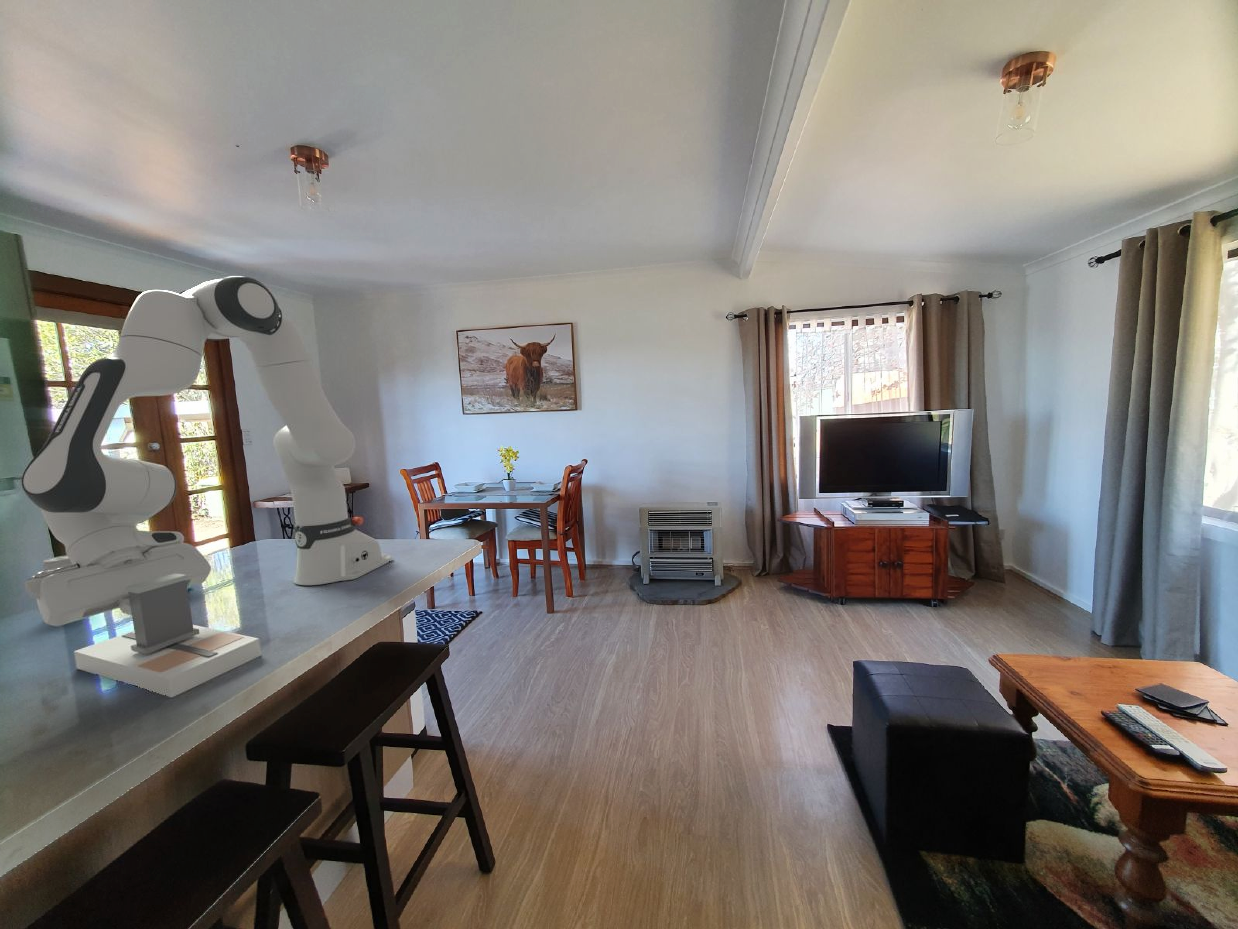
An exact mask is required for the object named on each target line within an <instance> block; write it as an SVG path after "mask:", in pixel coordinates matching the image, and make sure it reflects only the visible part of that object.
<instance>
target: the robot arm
mask: <svg viewBox="0 0 1238 929" xmlns="http://www.w3.org/2000/svg"><path fill="white" fill-rule="evenodd" d="M233 338H234V339H235V338H238V339H239V340H240V341H241V342H242V343H243V344H244V345H245V347H246V348H247V349H248V351H249V353H250V356H251V359H252V362H253V365H254V368H255V371H256V373H257V376H258V378H259V381H260V384H261V387H262V389H263V392H264V394H265V396H266V398H267V401H268V404H270V405H271V406H272V407H273V409H274V410H275V411H276V412H277V414H278V415H279V416H280V418H281V420H282V421H283V422H284V424H285V426H283V427H282V428H280V429H279V430H278V431H277V432H276V433H275V434H274V437H273V441H272V442H273V443H272V444H273V448H274V451H275V453H276V454H277V455H278V457H279V460H280V462H281V465H282V469H283V472H284V475H285V476H286V479H287V483H288V485H289V489H290V493H291V498H292V506H293V507H292V508H293V514H294V524H293V534H294V540H295V544H296V548H297V549H296V551H297V555H296V556H297V557H296V569H295V575H294V578H293V583H294V584H295V585H299V586H317V585H325V584H329V583H330V584H331V583H336V582H340V581H341V582H342V581H351V580H355V579H358V578H360V577H362V576H364V575H366V574H368V573H370V572H371V571H375V570H376V569H377V568H380V567H382V566H384V565H386V564H388V563H389V561H390V562H392V556H391V555H388V554H384V553H382V550H381V546H380V543H379V542H378V540H377V539H375V538H374V537H371V536H369V535H368V534H365V533H363V532H362V531H359V530H357V528H356V526H355V525H359V526H360V525H362V524H363V523H364V518H363V517H362V516H354V517H350V516H349V515H348V506H347V505H348V504H347V496H346V489H345V486H344V484H343V483H342V481H341V480H340V478H339V477H338V473H337V471H336V468H335V466H336V465H340V464H342V463H344V462H347V461H348V460H349V459H350V458H351V457H352V456H353V455H354V452H355V450H356V439H355V436H354V434H353V432H352V431H351V430H350V429H349V428H348V427H347V426H346V425H345V424H344V423H343V422H342V421H341V419H340V417H339V416H338V415H337V413H336V411H335V409H333V406H332V405H331V403H330V401H329V400H328V398H327V396H326V394H325V392H324V389H323V388H322V385H321V383H320V379H319V377H318V374H317V372H316V368H315V366H314V364H313V360H312V358H311V355H310V352H309V350H308V348H307V345H306V343H305V341H304V339H303V337H302V336H301V333H300V331H299V330H298V328H297V326H296V325H295V324H294V322H293V321H292V320H291V319H289V318H288V317H286V316H283V312H282V310H281V308H280V307H279V304H278V301H277V299H276V298H275V296H274V295H273V293H272V292H271V291H270V290H269V289H268V287H266V286H265V285H264V284H263V283H262V282H261V281H259V280H257V279H255V278H253V277H248V276H241V275H240V276H239V275H231V276H226V277H223V278H219V279H213V280H210V281H205V282H202V283H201V284H199V285H197V286H195V287H192V288H191V289H186V290H183V291H181V292H179V293H176V292H174V291H169V290H161V289H152V290H147V291H143V292H142V293H141V294H139V295H138V296H137V297H136V299H135V301H134V302H133V304H132V306H131V308H130V310H129V311H128V314H127V315H126V318H125V320H124V324H123V326H122V329H121V332H120V335H119V339H118V343H117V345H116V348H115V349H114V351H113V352H112V353H111V354H109V356H107V357H104V358H103V357H102V358H99V359H96V360H94V361H92V363H90V364H89V365H88V366H87V367H86V369H85V370H84V371H83V372H82V374H81V376H80V377H79V379H78V381H77V382H76V384H75V386H74V388H73V389H72V391H71V393H70V394H69V396H68V399H67V401H66V403H65V405H64V407H63V408H62V410H61V413H59V414H60V415H59V416H58V418H57V419H56V422H55V424H54V425H53V428H52V430H51V431H50V434H49V435H48V438H47V439H46V441H45V443H44V444H43V445H42V447H41V449H40V450H39V451H38V452H37V454H36V455H35V456H34V457H33V459H32V460H31V461H30V462H29V463H28V465H27V466H26V468H25V469H24V472H23V473H22V477H21V487H22V490H23V492H24V493H25V495H26V496H27V497H28V498H29V499H30V501H31V502H33V504H35V505H36V506H37V507H38V508H39V509H40V511H41V514H42V517H43V519H44V521H45V524H46V526H47V527H48V530H50V532H51V534H52V535H53V536H54V538H55V539H56V540H57V541H59V542H60V543H61V544H63V545H64V548H65V554H66V555H67V556H68V558H69V559H70V561H71V562H72V564H73V565H70V566H65V567H61V568H58V569H55V570H50V571H44V570H43V571H39V572H36V573H35V574H34V575H32V576H31V577H28V578H27V580H25V581H24V583H23V588H24V589H25V591H26V593H27V594H28V595H29V596H30V597H31V598H34V599H36V603H37V607H38V609H39V613H40V616H41V617H42V620H43V621H44V623H45V624H46V625H50V626H53V627H60V626H64V625H67V624H70V623H73V622H77V621H80V620H84V619H86V618H90V617H93V616H97V615H100V614H103V613H107V612H111V611H113V610H116V609H117V610H118V609H119V610H120V611H121V613H123V614H126V615H128V616H131V617H132V613H131V607H130V601H129V595H128V592H127V590H126V586H130V585H134V584H137V583H141V582H145V581H148V580H152V579H156V578H159V577H163V576H167V575H170V574H174V573H177V574H183V575H186V576H187V580H186V583H187V587H189V588H190V587H193V586H197V585H200V584H202V583H204V582H206V581H207V579H208V577H209V575H210V573H211V571H212V566H211V564H210V562H209V561H208V560H207V559H206V557H205V556H204V555H203V554H202V552H201V551H199V550H198V549H197V548H196V547H195V546H194V545H192V544H190V543H187V542H184V541H185V536H184V535H183V533H182V532H180V531H154V530H153V531H150V530H139V529H138V528H137V526H138V524H141V523H142V524H143V523H144V522H147V521H148V520H149V519H151V518H153V517H154V516H156V515H157V514H159V513H161V512H162V511H163V510H164V509H165V508H167V507H168V506H169V505H171V503H172V502H173V501H174V499H175V497H176V495H177V491H178V484H177V479H176V476H175V475H174V473H173V471H172V470H171V469H169V468H168V467H167V466H165V465H163V464H158V463H154V462H150V461H144V460H138V459H134V458H125V457H121V456H120V457H119V456H114V455H108V454H104V453H103V451H102V449H101V448H102V447H101V446H102V444H103V441H104V440H105V438H106V434H107V433H108V430H109V428H110V426H111V424H112V423H113V422H112V421H113V420H114V418H115V415H116V413H117V411H118V409H119V407H121V405H122V404H124V403H125V402H126V401H128V400H129V399H132V398H137V397H160V396H161V397H162V396H170V395H174V394H175V395H176V394H179V393H182V392H184V391H185V390H187V389H189V388H190V387H191V386H193V385H194V384H195V382H196V381H197V379H198V376H199V374H200V369H201V367H202V366H201V365H202V359H203V355H204V353H203V352H204V347H205V343H206V341H208V342H215V341H221V340H225V339H226V340H227V339H233Z"/></svg>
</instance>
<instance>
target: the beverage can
mask: <svg viewBox="0 0 1238 929" xmlns="http://www.w3.org/2000/svg"><path fill="white" fill-rule="evenodd" d="M70 565H73V564H72V562H71V561H70V559H69V558H68V556H67V554H66V555H60V556H56V557H50V558H47V559H44V560H43V564H42V567H43V571H50V570H55V569H58V568H61V567H65V566H70Z"/></svg>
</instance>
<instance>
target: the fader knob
mask: <svg viewBox="0 0 1238 929" xmlns="http://www.w3.org/2000/svg"><path fill="white" fill-rule="evenodd" d="M186 580H187V576H186V575H183V574H177V573H174V574H170V575H167V576H163V577H159V578H156V579H152V580H148V581H145V582H141V583H137V584H134V585H130V586H126V590H127V592H128V595H129V601H130V607H131V613H132V616H131V618H132V624H133V631H135V637H136V643H137V644H134V645H132V646H131V650H132V651H135V652H139V653H143V654H148V653H151V652H153V651H156V650H158V649H161V648H164V647H166V646H169V645H171V644H174V643H177V642H179V641H182V640H184V639H187V638H190V637H192V636H195V635H197V634H200V633H199V629H196V628H193V625H194V623H193V619H192V618H193V617H192V611H191V605H190V598H189V589H188V590H187V583H186Z"/></svg>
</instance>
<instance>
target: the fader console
mask: <svg viewBox="0 0 1238 929" xmlns="http://www.w3.org/2000/svg"><path fill="white" fill-rule="evenodd" d="M193 628H196V629H199V633H200V634H197V635H195V636H192V637H190V638H187V639H184V640H182V641H179V642H177V643H174V644H171V645H169V646H166V647H164V648H161V649H158V650H156V651H153V652H151V653H148V654H143V653H139V652H135V651H132V650H131V646H132V645H134V644H137V643H136V637H135V631H134V630H132V631H128V632H127V633H123V634H120V635H117V636H115V637H112V638H108V639H106V640H103V641H100V642H97V643H94V644H91V645H88V646H86V647H82V648H80V649H76V650H74V651H73V653H74V659H75V660H74V661H75V665H76V669H78V670H81V671H84V672H88V673H90V674H94V675H96V674H98V675H97V676H100V677H103V678H106V679H109V678H111V679H110V680H113V679H115V680H114V681H116V680H118V681H117V682H119V681H123V682H126V683H130V684H134V685H136V686H138V687H137V688H139V687H140V688H139V689H142V688H145V689H147V690H146V691H148V690H149V691H148V692H152V691H153V692H152V693H155V692H156V693H155V694H158V693H159V695H161V696H165V695H166V696H165V697H168V698H171V699H172V698H174V697H176V696H178V695H180V694H182V693H185V692H187V691H188V690H189V691H190V690H191V689H193V688H195V687H197V686H199V685H201V684H204V683H206V682H208V681H211V680H212V679H214V678H217V677H218V676H220V675H223V674H225V673H227V672H229V671H231V670H233V669H237V667H240V666H242V665H244V664H246V663H247V662H250V661H253V660H255V659H257V658H258V657H260V656H262V651H261V643H260V638H258V637H253V636H249V635H244V634H239V633H234V632H231V631H230V632H229V631H226V630H225V631H224V630H220V629H215V628H211V627H206V626H201V625H195V624H193ZM126 683H125V684H126ZM145 689H144V690H145Z"/></svg>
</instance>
